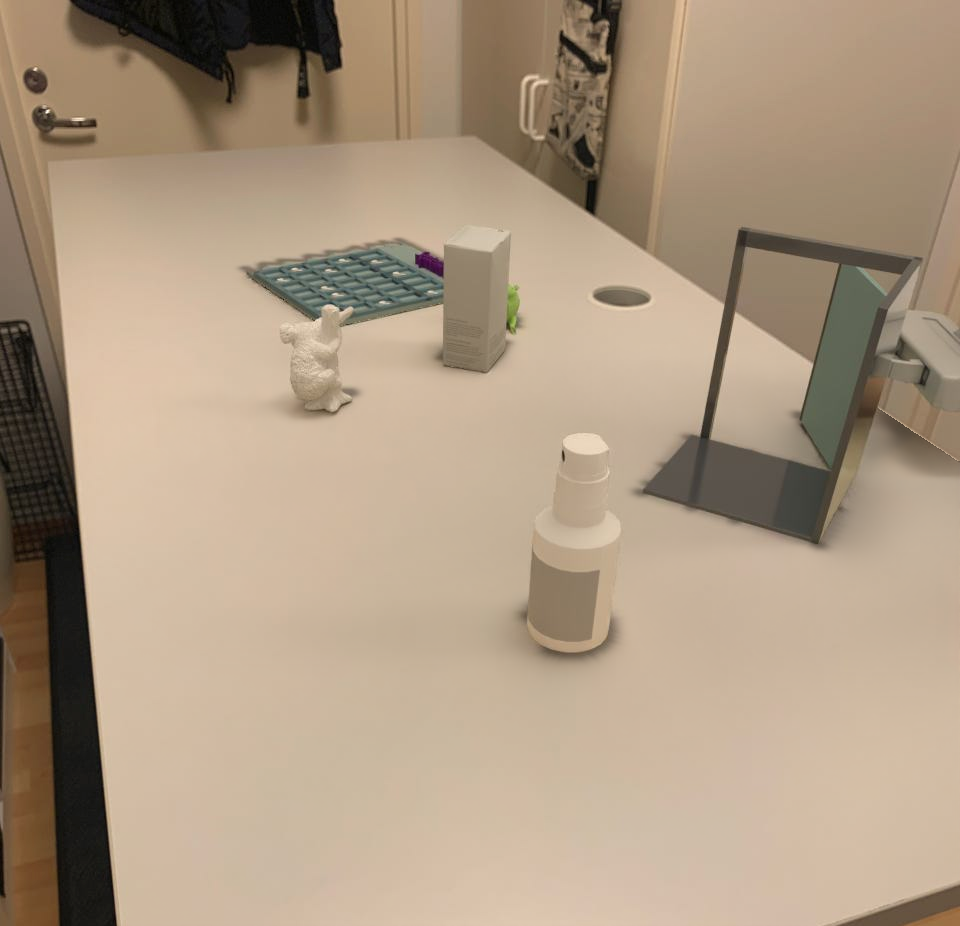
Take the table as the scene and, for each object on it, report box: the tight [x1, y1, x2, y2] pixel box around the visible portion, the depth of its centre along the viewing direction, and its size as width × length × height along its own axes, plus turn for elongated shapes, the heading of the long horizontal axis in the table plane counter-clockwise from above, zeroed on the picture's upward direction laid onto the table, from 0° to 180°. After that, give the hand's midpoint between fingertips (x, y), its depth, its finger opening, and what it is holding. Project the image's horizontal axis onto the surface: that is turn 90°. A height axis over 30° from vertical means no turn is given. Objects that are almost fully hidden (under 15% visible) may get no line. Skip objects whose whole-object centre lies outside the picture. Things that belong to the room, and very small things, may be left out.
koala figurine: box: [279, 304, 354, 413], centre depth 109 cm, size 8×7×12 cm
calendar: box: [245, 241, 444, 327], centre depth 145 cm, size 27×28×2 cm
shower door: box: [799, 263, 889, 469], centre depth 100 cm, size 14×6×19 cm, turn 1°
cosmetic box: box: [442, 224, 512, 373], centre depth 119 cm, size 8×7×16 cm
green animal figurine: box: [506, 283, 521, 334], centre depth 132 cm, size 6×5×6 cm
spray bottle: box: [526, 432, 623, 653], centre depth 74 cm, size 7×7×18 cm
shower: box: [642, 226, 924, 545], centre depth 91 cm, size 18×16×24 cm
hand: (863, 354), depth 104 cm, fingers open, 5 cm apart
